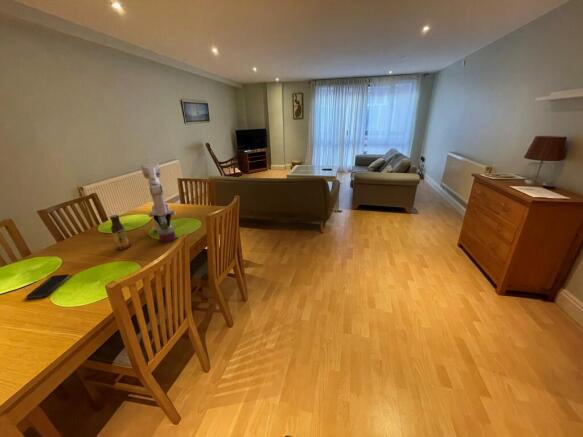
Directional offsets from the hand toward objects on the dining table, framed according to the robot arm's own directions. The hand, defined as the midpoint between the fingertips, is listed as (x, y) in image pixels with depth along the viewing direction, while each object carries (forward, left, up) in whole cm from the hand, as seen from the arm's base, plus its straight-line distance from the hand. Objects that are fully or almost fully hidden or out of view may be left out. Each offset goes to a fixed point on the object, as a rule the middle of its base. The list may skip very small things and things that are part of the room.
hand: (165, 226), depth 146 cm
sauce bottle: (-18, -16, -9) cm, 25 cm away
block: (0, 0, -1) cm, 1 cm away
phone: (-17, -53, -9) cm, 56 cm away
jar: (0, 0, -9) cm, 9 cm away
